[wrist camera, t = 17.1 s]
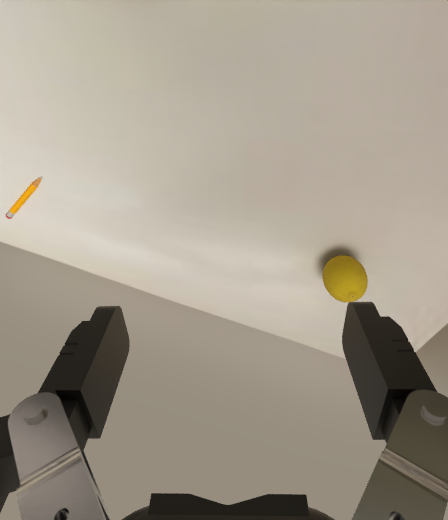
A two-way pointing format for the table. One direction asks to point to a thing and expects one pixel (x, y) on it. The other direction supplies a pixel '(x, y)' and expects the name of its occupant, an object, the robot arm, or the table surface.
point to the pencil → (23, 198)
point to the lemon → (345, 278)
